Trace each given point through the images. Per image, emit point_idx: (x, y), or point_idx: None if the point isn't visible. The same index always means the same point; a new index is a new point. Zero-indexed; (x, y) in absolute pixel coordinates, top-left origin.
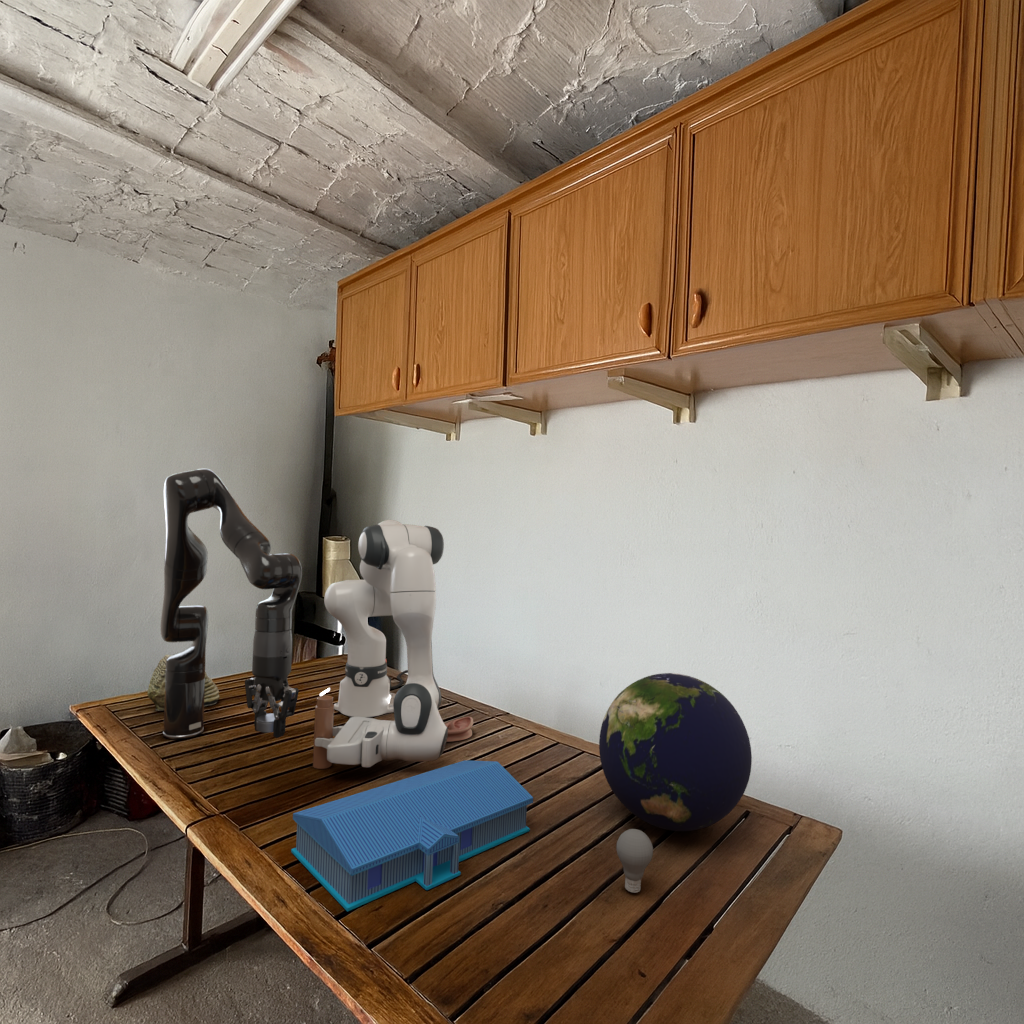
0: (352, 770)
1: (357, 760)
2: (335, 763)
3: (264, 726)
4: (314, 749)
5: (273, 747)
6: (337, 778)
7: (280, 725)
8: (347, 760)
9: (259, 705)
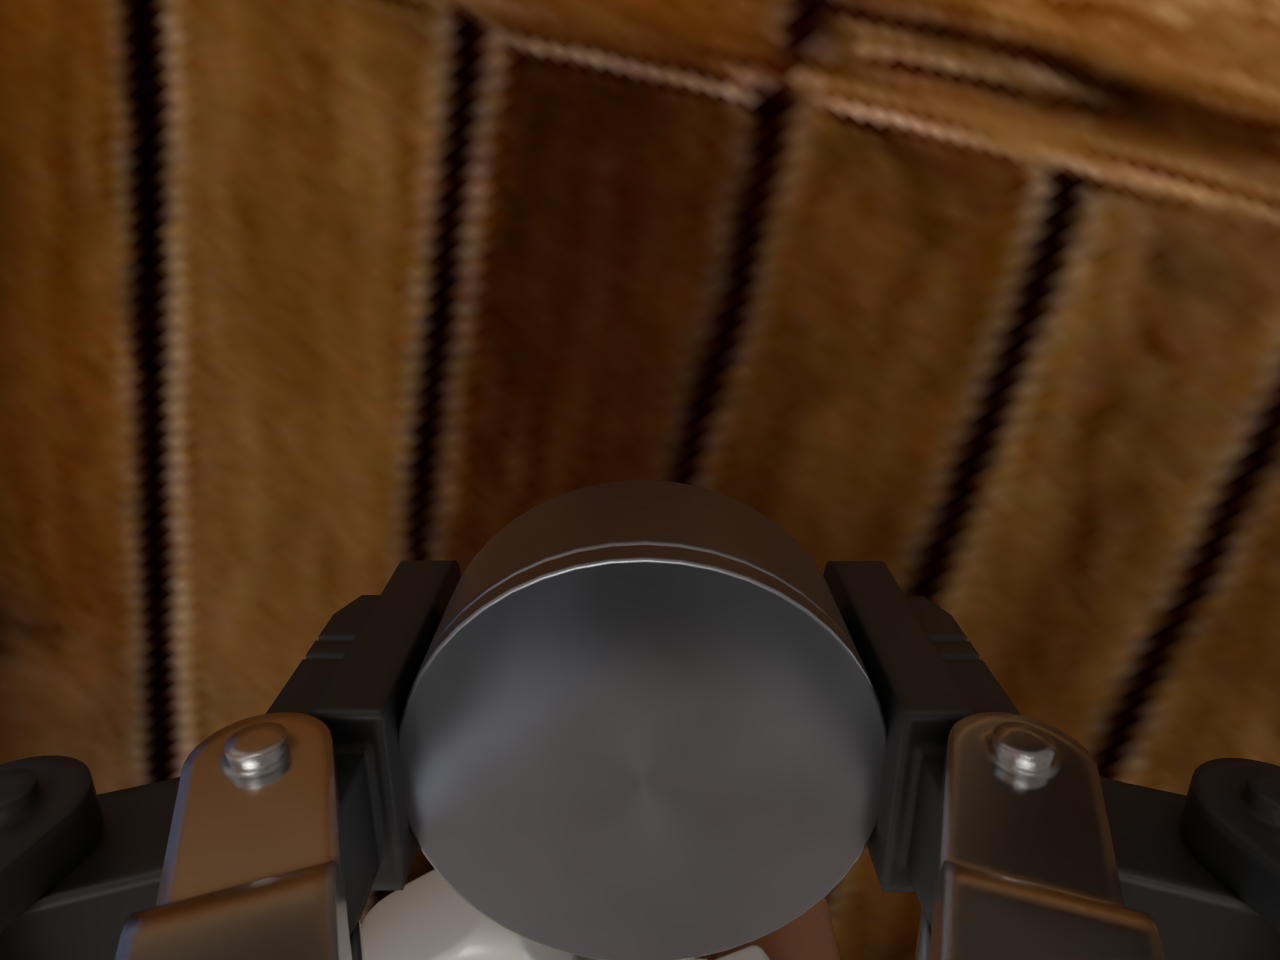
0: None
1: None
2: None
3: (529, 542)
4: (801, 932)
5: None
6: None
7: (286, 693)
8: (391, 909)
9: (935, 884)
